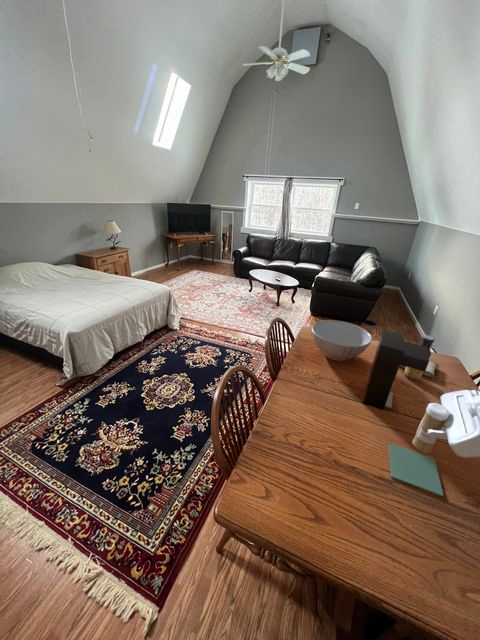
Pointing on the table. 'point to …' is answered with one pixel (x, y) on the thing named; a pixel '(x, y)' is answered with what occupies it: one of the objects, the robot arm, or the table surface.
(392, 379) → the black l-shaped post
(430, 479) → the rubber mat
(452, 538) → the table surface
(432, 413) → the sprinkles bottle
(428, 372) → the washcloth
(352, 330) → the decorative bowl
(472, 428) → the robot arm
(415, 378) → the sauce bottle
